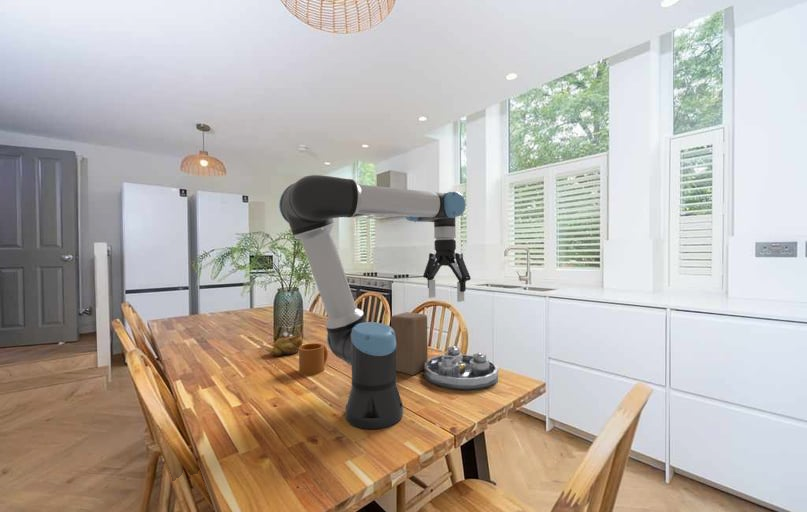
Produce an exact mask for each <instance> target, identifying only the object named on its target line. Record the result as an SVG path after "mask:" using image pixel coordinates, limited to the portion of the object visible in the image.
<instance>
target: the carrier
mask: <svg viewBox="0 0 807 512" xmlns="http://www.w3.org/2000/svg"><path fill="white" fill-rule="evenodd" d="M444 356H453V357H455V358H456V362H458V363H459V378H455V377H448V376H443V375H440V374H438V363H439V362H442V357H444ZM423 371H424V372H423V374H424V378H425V380H426V381H428V383H430V384H431V385H435V386H437V387H439V388H442V389H447V390H453V391H480V390H484V389H488V388H490V387H492V386H495V384H497V383H498V381H499V367H498V365H497V364H496V362H494V361H491V360H490V359H488V358H487V355H486V354H484V353H481V352H477V353H473V354H472V355H470V354H463V353H462V352H461V349H460V347H457V346H449V347H447V351H446V352H445V353H444V354H442V355H436V356H433V357H431V358H428V360H427V361H426V362H425V369H424V370H423Z"/></svg>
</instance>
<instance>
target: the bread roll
mask: <svg viewBox="0 0 807 512" xmlns="http://www.w3.org/2000/svg"><path fill="white" fill-rule="evenodd" d="M303 341H304V339H303V336H302V334H296V335H294V336H287V337H281V338H277V339H276V340H275V342H274V343H273V344H274V345H273V347H272V348H271V350H270V354H271V355H272V356H276V357H281V356H284V355H287V356H288V355H291V356H292V355H295V354H297V353H298V354H299V347H300V346H302V345H303Z"/></svg>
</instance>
